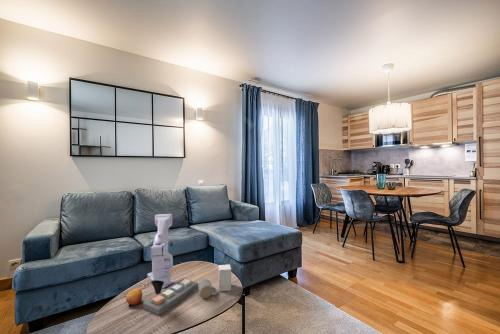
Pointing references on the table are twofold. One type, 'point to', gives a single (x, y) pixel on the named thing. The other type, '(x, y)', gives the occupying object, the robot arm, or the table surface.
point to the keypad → (171, 301)
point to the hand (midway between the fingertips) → (158, 293)
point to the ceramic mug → (206, 288)
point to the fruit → (134, 296)
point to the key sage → (168, 294)
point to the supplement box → (224, 277)
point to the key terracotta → (158, 300)
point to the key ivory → (185, 283)
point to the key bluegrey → (177, 288)
